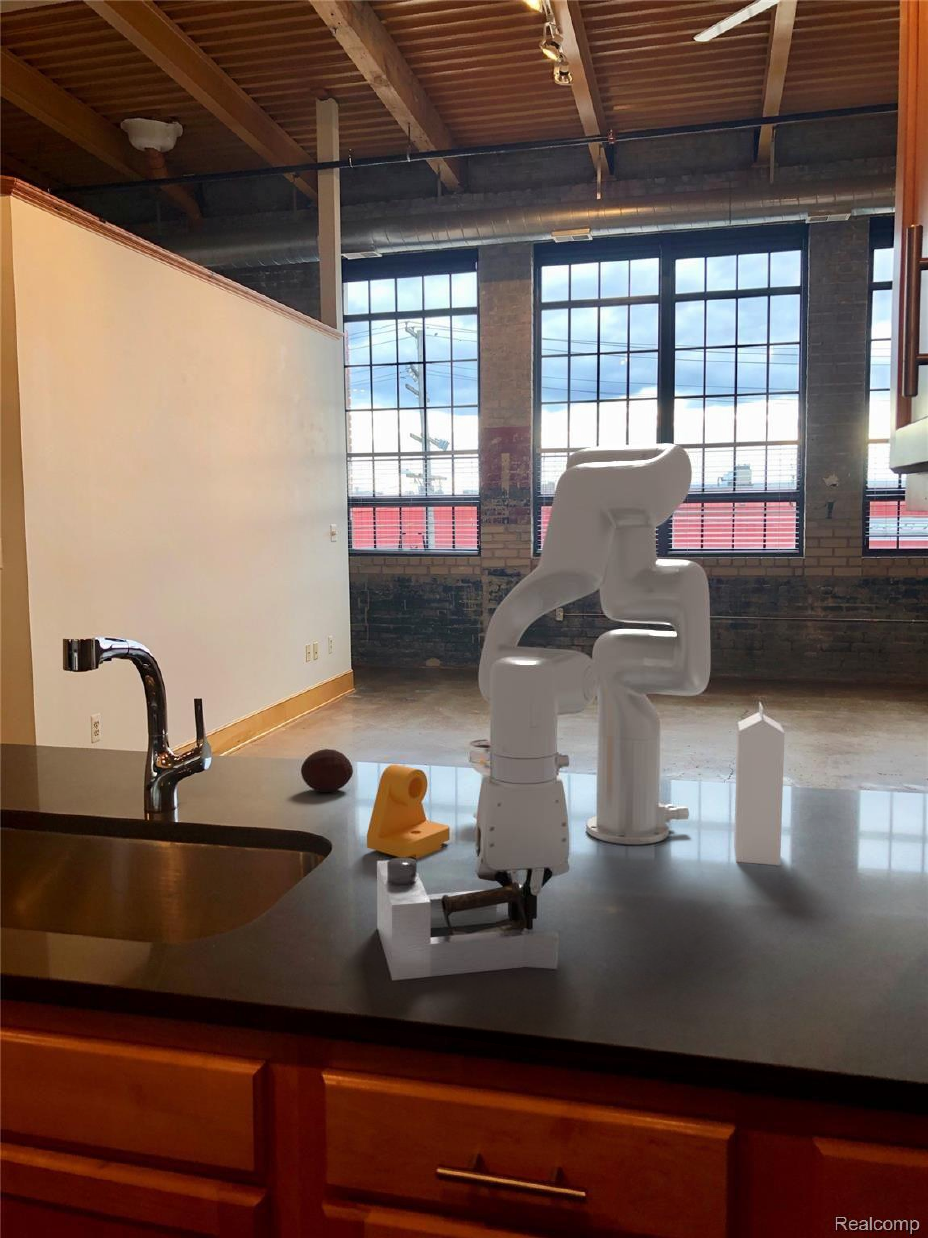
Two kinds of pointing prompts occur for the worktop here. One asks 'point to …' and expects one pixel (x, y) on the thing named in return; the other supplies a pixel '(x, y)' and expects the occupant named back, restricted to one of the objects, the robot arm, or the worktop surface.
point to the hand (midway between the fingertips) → (522, 925)
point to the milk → (759, 790)
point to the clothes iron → (484, 905)
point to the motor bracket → (418, 955)
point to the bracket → (403, 816)
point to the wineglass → (480, 757)
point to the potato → (326, 770)
